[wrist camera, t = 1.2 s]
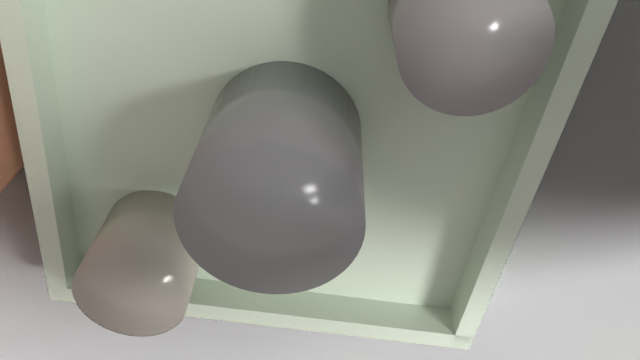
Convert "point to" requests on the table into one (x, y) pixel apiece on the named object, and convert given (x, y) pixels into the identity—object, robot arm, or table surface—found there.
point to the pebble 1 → (136, 268)
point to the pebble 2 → (470, 51)
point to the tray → (376, 133)
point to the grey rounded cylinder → (276, 182)
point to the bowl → (8, 133)
